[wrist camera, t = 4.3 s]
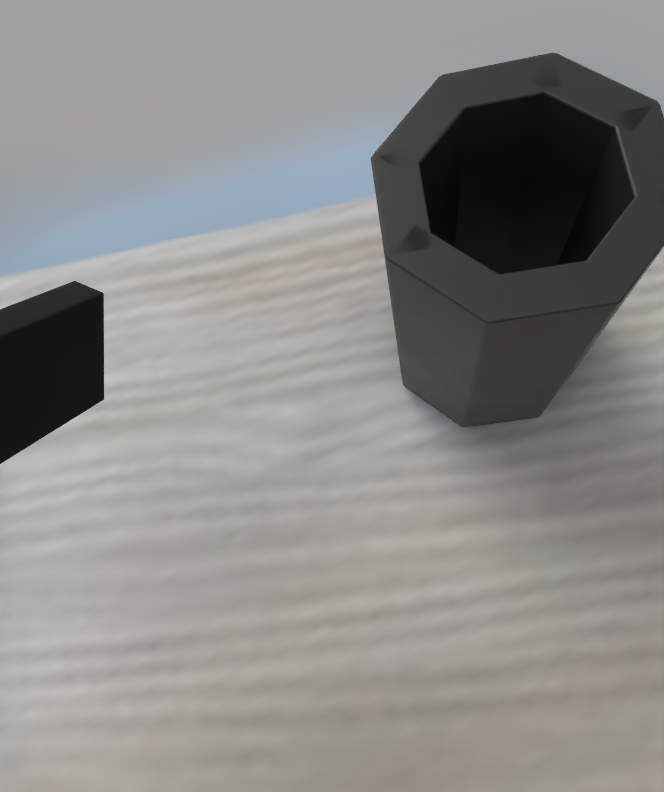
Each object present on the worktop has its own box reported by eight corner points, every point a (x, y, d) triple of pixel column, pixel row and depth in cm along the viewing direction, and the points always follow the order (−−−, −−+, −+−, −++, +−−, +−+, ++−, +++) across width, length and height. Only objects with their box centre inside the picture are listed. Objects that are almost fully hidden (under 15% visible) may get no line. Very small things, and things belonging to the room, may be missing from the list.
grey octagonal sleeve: (554, 248, 26) (639, 33, 16) (593, 409, 24) (719, 287, 14) (387, 275, 27) (360, 90, 16) (410, 434, 25) (396, 337, 14)
